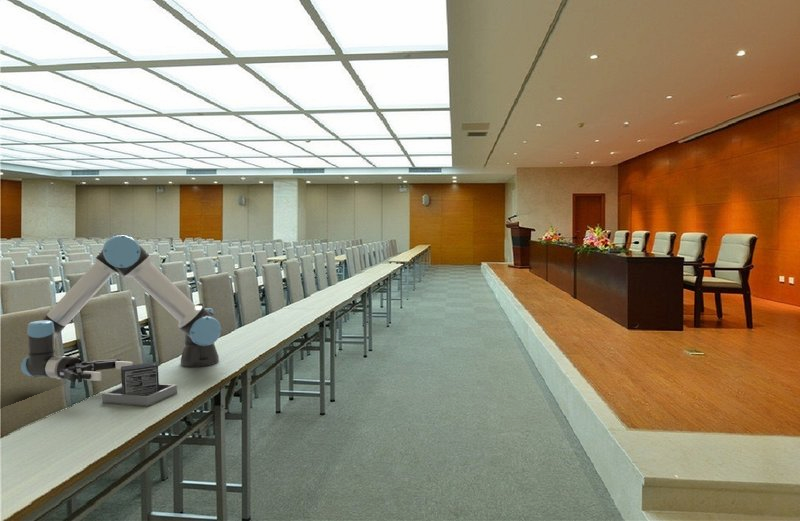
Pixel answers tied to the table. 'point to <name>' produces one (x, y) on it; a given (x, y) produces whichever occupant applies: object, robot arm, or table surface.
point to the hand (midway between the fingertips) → (117, 371)
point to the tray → (135, 400)
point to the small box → (140, 379)
